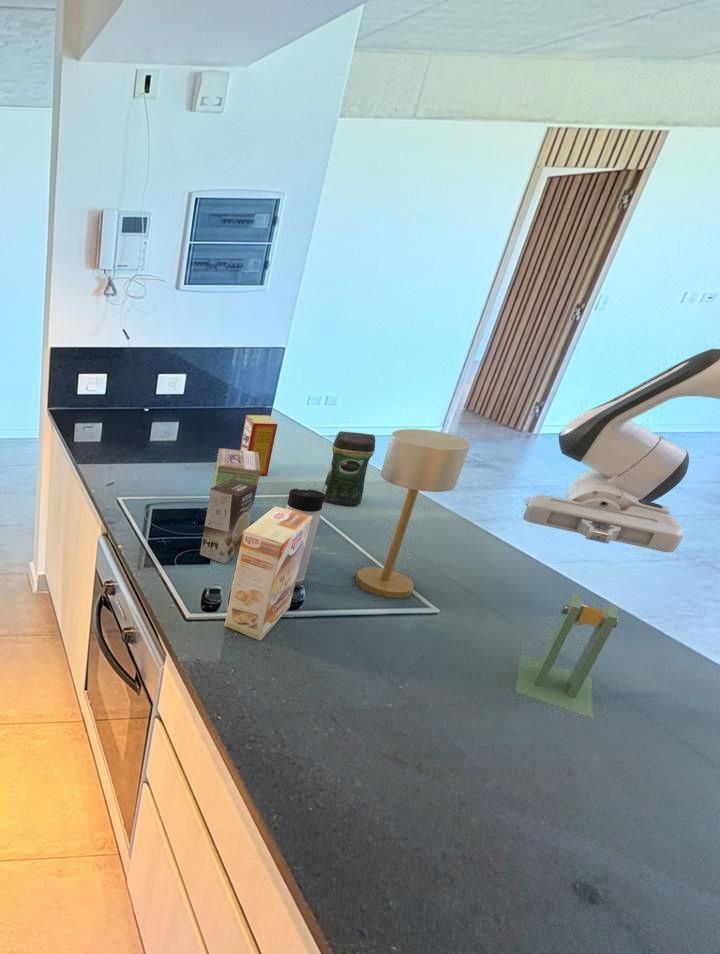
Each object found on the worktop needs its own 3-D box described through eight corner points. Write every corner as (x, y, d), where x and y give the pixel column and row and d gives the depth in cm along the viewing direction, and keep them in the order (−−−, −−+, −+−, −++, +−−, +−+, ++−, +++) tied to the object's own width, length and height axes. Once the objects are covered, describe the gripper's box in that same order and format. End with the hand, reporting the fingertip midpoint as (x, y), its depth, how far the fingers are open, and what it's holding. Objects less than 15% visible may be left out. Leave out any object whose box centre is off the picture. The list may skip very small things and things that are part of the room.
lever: (556, 619, 101) (565, 599, 100) (585, 627, 99) (594, 606, 98) (570, 623, 90) (579, 600, 90) (602, 632, 88) (612, 609, 88)
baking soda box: (237, 464, 190) (246, 413, 183) (259, 465, 190) (269, 414, 182) (244, 475, 182) (253, 422, 175) (266, 476, 181) (277, 423, 174)
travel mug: (274, 586, 125) (295, 495, 116) (267, 570, 131) (287, 483, 122) (307, 589, 124) (330, 497, 115) (298, 572, 130) (320, 484, 121)
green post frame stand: (517, 660, 103) (555, 579, 96) (588, 683, 98) (633, 599, 91) (512, 698, 95) (553, 612, 88) (589, 724, 90) (639, 636, 83)
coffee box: (225, 565, 133) (238, 496, 126) (198, 555, 137) (209, 488, 130) (245, 551, 139) (258, 484, 132) (218, 542, 143) (230, 477, 136)
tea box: (250, 526, 150) (261, 469, 144) (207, 521, 153) (216, 465, 146) (249, 503, 163) (259, 450, 156) (209, 499, 166) (218, 446, 159)
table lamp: (389, 569, 131) (434, 427, 117) (431, 598, 121) (487, 447, 107) (337, 573, 130) (377, 430, 116) (376, 603, 119) (425, 450, 105)
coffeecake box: (260, 642, 108) (283, 543, 99) (222, 626, 112) (240, 530, 104) (291, 607, 118) (314, 515, 109) (255, 594, 122) (274, 504, 113)
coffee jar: (359, 498, 166) (378, 431, 158) (360, 508, 160) (380, 439, 151) (320, 492, 170) (336, 426, 161) (319, 502, 163) (336, 435, 155)
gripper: (532, 481, 116) (527, 503, 107) (683, 510, 105) (693, 538, 95) (519, 511, 119) (514, 536, 110) (665, 542, 108) (673, 573, 98)
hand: (598, 537), depth 103 cm, fingers closed
